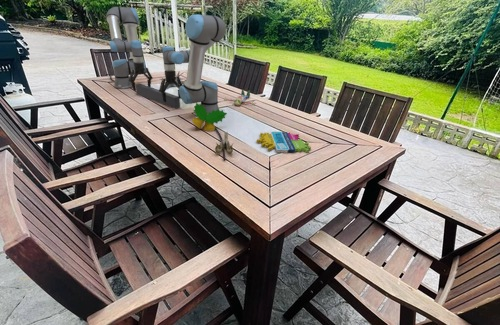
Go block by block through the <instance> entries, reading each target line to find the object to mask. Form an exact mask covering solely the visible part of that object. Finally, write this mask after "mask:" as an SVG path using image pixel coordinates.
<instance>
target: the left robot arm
mask: <svg viewBox="0 0 500 325" xmlns="http://www.w3.org/2000/svg"><path fill="white" fill-rule="evenodd" d="M105 16H106V22H107V24H108V27H109V32H110V33H109V34H110V39H111V40H110V41H109V48H110V51H111V52H113V53H129V58H128V60H127V59H126V58H120V59H115V60H113V61H112V68H113V74H114V79H112V75H111V74H109V73H106V74H105V76H109V79H110V81H112V82H114V83H113V86H114V88H115V89H120V90H122V89H123V90H125V89H131V88H132V90H133V91H134V92H135V91H136V85H135V84H136V82H135V81H136V79H137V78H138V76H141V75H143V76H144V77H146V79H147V86H149V87H152V86H151V85H152V80H153V78H154V76H152V74H151V72H150V71H149V68H148V67H146V61H145V60H144V54H143V45H142V42H141V40H139V36H138V32H137V31H138V30H137V27H138V26H139V24H140V20H139V15H138V11H137V9H136V8H134V7H127V6H113V7H111V8H110V9H109V10H107V13H106V15H105ZM120 23H122V26H124V27H125V31H126V38H127V41H123V37H122V32H121V28H120Z"/></svg>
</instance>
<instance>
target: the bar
mask: <svg viewBox="0 0 500 325" xmlns="http://www.w3.org/2000/svg"><path fill="white" fill-rule="evenodd" d="M135 87H136V92H135V93H136V95H138V96H139V97H143V98H146V99H148V100H151V101H154V102H156V103H159V104H162V105H164V106H167V107H169V108H172V109H174V110H178V109H180V108H181V99H180V97H178V95H175V94H173V93H170V92H166V91H165V93H166V102H164V101H163V97H162V93H161V92H159V89H158V88H155V87H153V86H151V87H149V86H148V85H147V84H143V83H135Z"/></svg>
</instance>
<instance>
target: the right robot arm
mask: <svg viewBox="0 0 500 325" xmlns="http://www.w3.org/2000/svg"><path fill="white" fill-rule="evenodd" d="M184 30H185V35H186V36H187V38H188V41H189V42H190V49H189V50H181V51H177V50H176V51H175V49H174V47H173V46H162V59H163V60H162V61H163V68H164V77H165V78H164V77H161V79H162V80H161V82H160V85H159V89H158V90H159V92H161V93H162V97H163V101H164V102H166V93H165V92H166V91H167V89H168V88H167V87H168V85H169V84H175V85H176V86H175V87H176V88H177V96H178V97H180V100H181V101H182V103H184V104H185V105H193V104H196V102H197V103H198V104H199V103H200V104H201V106H204V109H206V112H208V113H211V112H212V110H214V111H216V110H217V109H219V111H221V110H220V108H219V102H218V99H219V98H218V97H219V87H218V84H217V83H216V82H214V81H211V80H202V74H203V67H204V62H205V55H206V53H207V51H208V50H209V49H210V48H211V47H212V46H213V45H215V44H216V43H219V42H221V40H223V39H224V37H225V34H226V24H225V22H224V20H223V19H222V18H221V17H220V16H218V15H217V16H216V15H208V14H198V13H197V14H191V15H190V16H188V18H187V19H186V22H185V29H184ZM181 64H188V65H187V73H186V78H185V79H184V80H183V81H184V82H181V81H182V80H180V76H179V77H178V76H177V74H176V65H181ZM175 80H177V82H178V83H177V82H176V81H175ZM182 83H184V84H182ZM208 113H207V115H208ZM214 131H216V133H217V134H218V135H219V139H220V141H222V140H223V137H222V134H221V133H220V131H219V130H218V128H217V126H215V130H214ZM225 152H226V151H225V149H223V151H222V157H223V161H226V153H225Z"/></svg>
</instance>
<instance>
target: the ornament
mask: <svg viewBox="0 0 500 325" xmlns="http://www.w3.org/2000/svg"><path fill="white" fill-rule="evenodd" d="M219 110H220V108H219V109H217V110H216V111H214V110H212V112H211V113H208V112H206V109H204V106H201V103H199V102H198V103H197V102H196V103H195V105H194V106H193V112H194V113H195V118H192V119H191V122H192V123H193V125H195V127H197V128H198V129H202V130H203V131H206V132H212V131H213V132H214V131H216V130H215V127H216V126H215V124H218V123H219V122H223V119H226V115H227V114H228V113H227V112H224V110H223V109H221V110H220V111H219ZM207 113H208V115H207ZM214 123H215V124H214Z"/></svg>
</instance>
